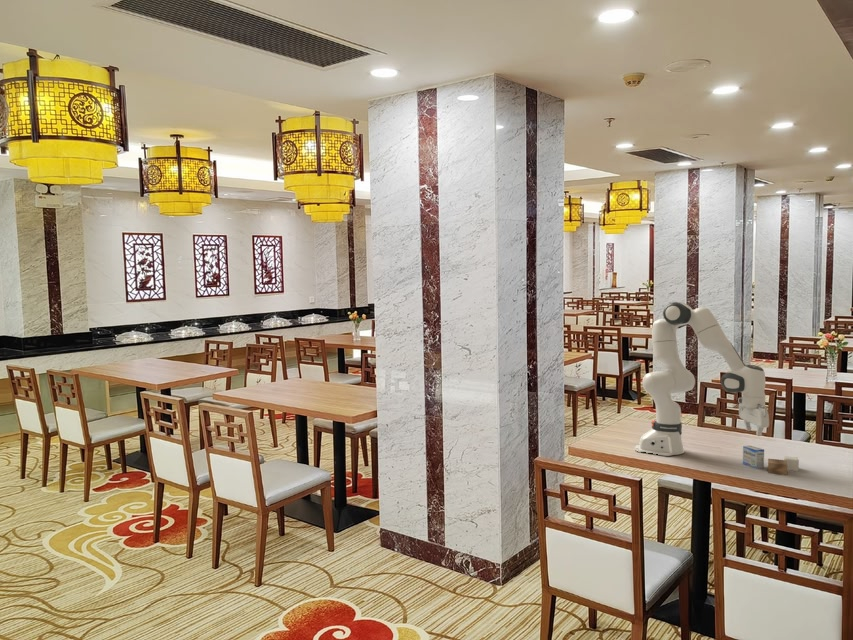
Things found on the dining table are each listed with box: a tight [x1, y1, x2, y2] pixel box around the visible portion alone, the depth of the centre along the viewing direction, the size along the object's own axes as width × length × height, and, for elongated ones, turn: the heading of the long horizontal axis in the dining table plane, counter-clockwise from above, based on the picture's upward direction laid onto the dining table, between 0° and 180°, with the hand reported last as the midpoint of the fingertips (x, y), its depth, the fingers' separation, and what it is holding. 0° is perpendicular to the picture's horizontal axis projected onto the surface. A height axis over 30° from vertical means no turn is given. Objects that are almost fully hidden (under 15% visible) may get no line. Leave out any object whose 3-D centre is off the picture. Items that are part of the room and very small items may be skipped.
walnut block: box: [767, 458, 788, 476], centre depth 286 cm, size 7×7×5 cm
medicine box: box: [742, 445, 765, 469], centre depth 295 cm, size 8×4×9 cm, turn 21°
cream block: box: [783, 455, 800, 472], centre depth 291 cm, size 5×5×5 cm
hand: (753, 433), depth 294 cm, fingers open, 8 cm apart
